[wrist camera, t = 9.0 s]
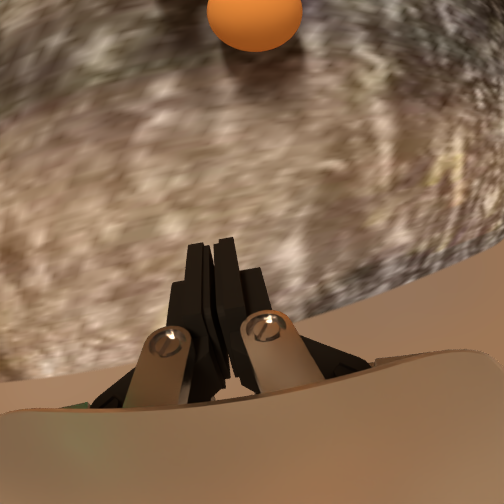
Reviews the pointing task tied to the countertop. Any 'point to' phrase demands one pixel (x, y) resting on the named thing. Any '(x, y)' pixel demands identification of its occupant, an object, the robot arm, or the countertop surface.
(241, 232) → the countertop surface
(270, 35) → the ball
